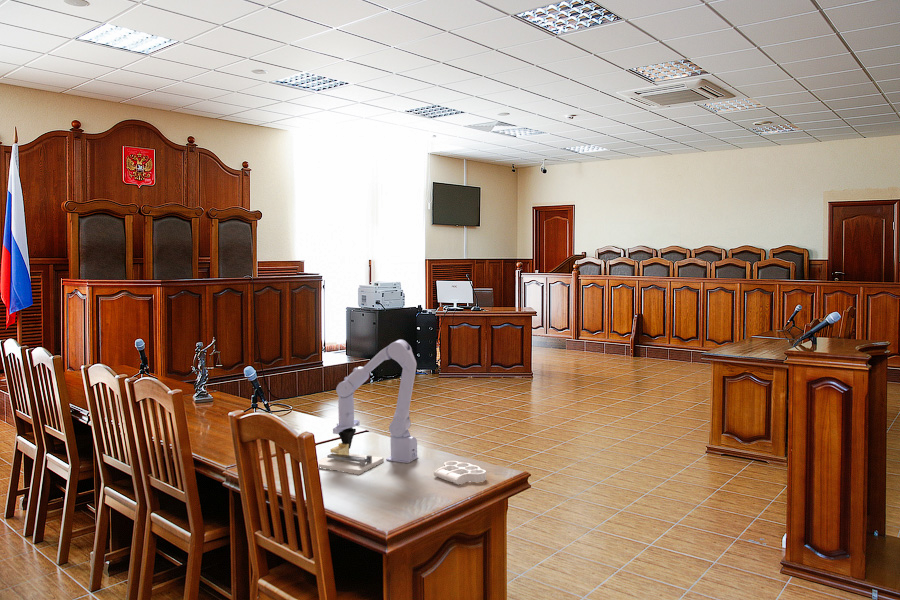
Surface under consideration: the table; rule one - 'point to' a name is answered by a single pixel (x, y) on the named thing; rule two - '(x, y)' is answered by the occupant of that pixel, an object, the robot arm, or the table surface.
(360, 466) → the board
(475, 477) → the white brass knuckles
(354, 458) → the dark grey flat bar
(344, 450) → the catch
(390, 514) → the table surface
